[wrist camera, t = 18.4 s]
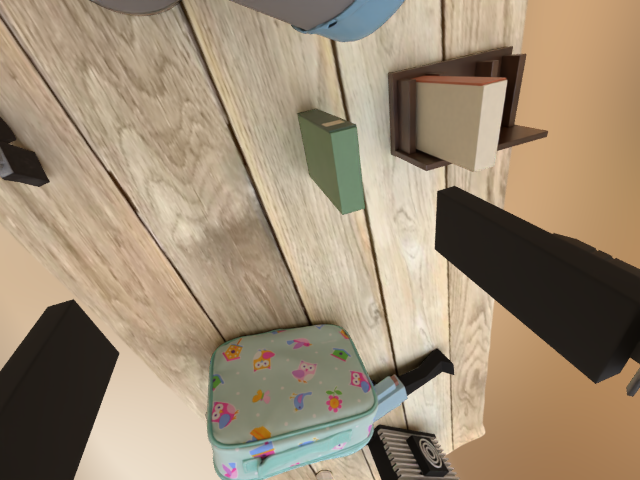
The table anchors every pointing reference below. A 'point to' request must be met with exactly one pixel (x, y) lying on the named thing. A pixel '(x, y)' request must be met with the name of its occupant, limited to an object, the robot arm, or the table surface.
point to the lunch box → (287, 401)
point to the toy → (409, 382)
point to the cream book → (460, 118)
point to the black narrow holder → (18, 161)
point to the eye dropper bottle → (324, 475)
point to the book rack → (466, 66)
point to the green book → (333, 158)
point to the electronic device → (408, 455)
